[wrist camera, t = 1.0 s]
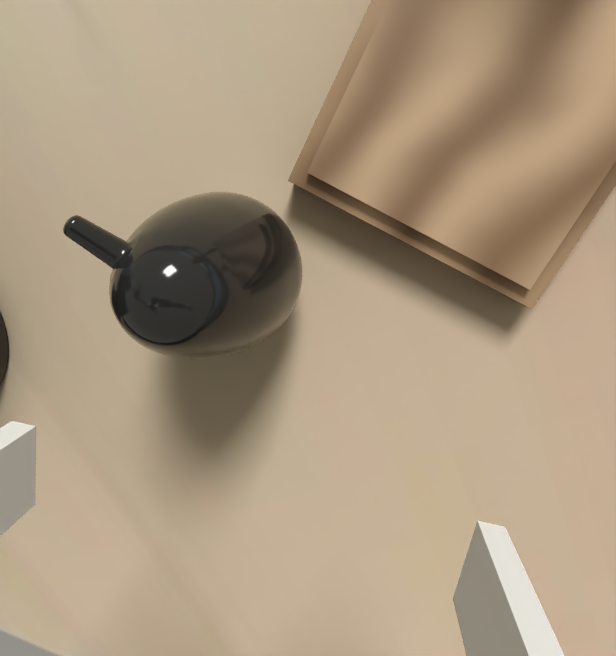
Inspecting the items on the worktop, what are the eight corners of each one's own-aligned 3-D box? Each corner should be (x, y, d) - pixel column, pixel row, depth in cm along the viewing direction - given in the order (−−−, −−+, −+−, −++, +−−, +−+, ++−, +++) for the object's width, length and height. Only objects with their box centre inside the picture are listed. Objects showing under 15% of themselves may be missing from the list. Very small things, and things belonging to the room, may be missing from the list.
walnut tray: (293, 183, 32) (286, 180, 29) (426, -100, 27) (433, -137, 24) (520, 302, 32) (534, 310, 29) (694, 40, 27) (732, 19, 24)
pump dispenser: (228, 162, 32) (111, 118, 18) (338, 259, 33) (312, 294, 18) (149, 269, 35) (-8, 309, 21) (252, 357, 36) (170, 456, 21)
